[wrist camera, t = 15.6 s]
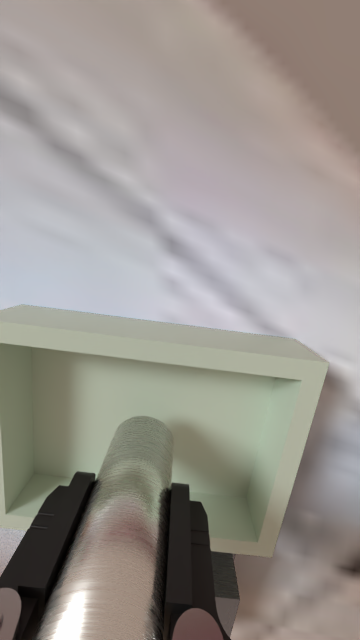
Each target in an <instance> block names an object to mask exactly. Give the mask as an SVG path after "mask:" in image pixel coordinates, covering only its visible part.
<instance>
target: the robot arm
mask: <svg viewBox="0 0 360 640" xmlns="http://www.w3.org/2000/svg"><path fill="white" fill-rule="evenodd" d="M95 477H96V475H95V473H89V472H80V471H77V472H76V473H75V474H74V476H73V478H72V480H71V482H70V484H69V486H62V485H59V486H58V487H57V488H56V489H55V490H54V491H53V492H51V493H50V494H49V495H48V496H47V497H46V499H45V501H44V503H43V504H42V506H41V508H40V509H39V511H38V514H37V515H36V516H35V518H34V520H33V522H32V523H31V526H30V528H28V530H27V532H26V534H25V535H24V537H23V539H22V541H21V542H20V544H19V546H18V547H17V549H16V551H15V553H14V554H13V556H12V558H11V560H10V561H9V563H8V565H7V566H6V568H5V570H4V572H3V573H2V575H1V577H0V640H32V637H33V635H34V632H35V630H36V627H37V625H38V622H39V620H40V617H41V615H42V612H43V610H44V607H45V605H46V602H47V600H48V597H49V595H50V592H51V590H52V587H53V585H54V582H55V580H56V577H57V575H58V572H59V570H60V567H61V565H62V562H63V560H64V557H65V555H66V553H67V550H68V548H69V545H70V543H71V540H72V538H73V535H74V533H75V530H76V528H77V525H78V523H79V520H80V518H81V515H82V513H83V510H84V508H85V505H86V503H87V500H88V498H89V495H90V493H91V490H92V488H93V485H94V483H95ZM163 622H164V630H163V640H231V639H230V638H229V636H228V635H227V634H226V632H225V630H224V629H223V627H222V624H221V622H220V620H219V617H218V613H217V609H216V601H215V591H214V580H213V569H212V559H211V549H210V537H209V526H208V516H207V513H206V511H205V509H204V507H203V505H202V503H201V502H199V501H191V500H190V489H189V484H182V483H173V482H172V484H171V491H170V508H169V526H168V543H167V561H166V578H165V596H164V613H163Z"/></svg>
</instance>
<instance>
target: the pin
mask: <svg viewBox="0 0 360 640" xmlns="http://www.w3.org/2000/svg"><path fill="white" fill-rule="evenodd" d="M173 447H174V440H173V436H172V433H171V431H170V430H169V428H168V427H167V426H166V425H165V424H164V423H163V422H161V421H160V420H158V419H155V418H153V417H149V416H135V417H132V418H129V419H127V420H125V421H123V422H122V423H121V424H120V425H119V426H118V427H117V429H116V431H115V433H114V436H113V438H112V441H111V443H110V446H109V448H108V450H107V453H106V455H105V458H104V460H103V463H102V465H101V468H100V470H99V473H98V475H97V478H96V480H95V483H94V485H93V488H92V490H91V493H90V495H89V498H88V500H87V503H86V505H85V508H84V510H83V513H82V515H81V518H80V520H79V523H78V525H77V528H76V530H75V533H74V535H73V538H72V540H71V543H70V545H69V548H68V550H67V553H66V555H65V557H64V560H63V562H62V565H61V567H60V570H59V572H58V575H57V577H56V580H55V582H54V585H53V587H52V590H51V592H50V595H49V597H48V600H47V602H46V605H45V607H44V610H43V612H42V615H41V617H40V620H39V622H38V625H37V627H36V630H35V632H34V635H33V637H32V640H163V630H164V622H163V613H164V596H165V578H166V561H167V543H168V526H169V508H170V491H171V484H172V465H173Z"/></svg>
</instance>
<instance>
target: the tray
mask: <svg viewBox="0 0 360 640" xmlns="http://www.w3.org/2000/svg"><path fill="white" fill-rule="evenodd" d="M328 366H329V362H328V361H326V360H325V359H323V358H322V357H320V356H319V355H317V354H316V353H315V352H313V351H312V350H310V349H309V348H307V347H306V346H305V345H303V344H302V343H300V342H299V341H297V340H296V339H290V338H282V337H274V336H266V335H258V334H251V333H243V332H235V331H227V330H219V329H211V328H203V327H195V326H188V325H180V324H172V323H164V322H156V321H148V320H140V319H132V318H125V317H117V316H109V315H101V314H93V313H85V312H77V311H69V310H62V309H54V308H46V307H38V306H30V305H18V306H14V307H11V308H7V309H3V310H0V528H8V529H17V530H26V531H27V530H28V528H30V526H31V523H32V522H33V520H34V518H35V516H36V515H37V514H38V511H39V509H40V508H41V506H42V504H43V503H44V501H45V499H46V497H47V496H48V495H49V494H50V493H51V492H53V491H54V490H55V489H56V488H57V487H58V486H59V485H62V486H69V484H70V482H71V480H72V478H73V476H74V474H75V473H76V472H77V471H80V472H89V473H95V475H96V477H95V480H96V478H97V475H98V473H99V470H100V468H101V465H102V463H103V460H104V458H105V455H106V453H107V450H108V448H109V446H110V443H111V441H112V438H113V436H114V433H115V431H116V429H117V427H118V426H119V425H120V424H121V423H122V422H123V421H125V420H127V419H129V418H132V417H135V416H149V417H153V418H155V419H158V420H160V421H161V422H163V423H164V424H165V425H166V426H167V427H168V428H169V430H170V431H171V433H172V436H173V440H174V447H173V465H172V482H173V483H182V484H189V489H190V500H191V501H199V502H201V503H202V505H203V507H204V509H205V511H206V513H207V516H208V526H209V537H210V549H211V551H216V552H225V553H234V554H243V555H252V556H261V557H270V558H272V555H273V552H274V549H275V545H276V542H277V539H278V535H279V532H280V528H281V525H282V522H283V518H284V515H285V512H286V508H287V505H288V501H289V498H290V495H291V491H292V488H293V485H294V481H295V478H296V474H297V471H298V468H299V464H300V461H301V458H302V454H303V451H304V447H305V444H306V441H307V437H308V434H309V431H310V427H311V424H312V420H313V417H314V414H315V410H316V407H317V404H318V400H319V397H320V393H321V390H322V387H323V383H324V380H325V377H326V373H327V370H328Z"/></svg>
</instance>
